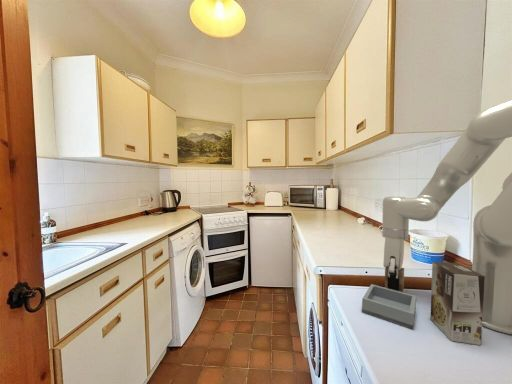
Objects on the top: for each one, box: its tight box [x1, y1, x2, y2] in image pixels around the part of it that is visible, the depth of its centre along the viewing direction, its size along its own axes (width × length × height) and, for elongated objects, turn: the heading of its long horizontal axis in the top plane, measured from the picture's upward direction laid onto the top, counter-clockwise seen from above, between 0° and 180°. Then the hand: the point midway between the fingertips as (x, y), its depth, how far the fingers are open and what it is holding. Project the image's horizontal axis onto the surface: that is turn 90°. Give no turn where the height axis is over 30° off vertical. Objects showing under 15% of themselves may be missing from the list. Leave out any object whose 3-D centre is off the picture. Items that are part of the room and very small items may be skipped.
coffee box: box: [429, 261, 485, 346], centre depth 56 cm, size 9×6×16 cm
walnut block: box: [384, 265, 405, 293], centre depth 76 cm, size 5×5×7 cm
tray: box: [361, 283, 417, 331], centre depth 65 cm, size 12×12×4 cm
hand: (394, 286), depth 76 cm, fingers closed on walnut block, 5 cm apart
